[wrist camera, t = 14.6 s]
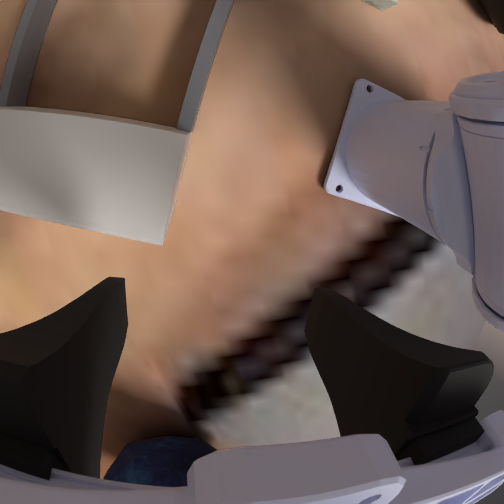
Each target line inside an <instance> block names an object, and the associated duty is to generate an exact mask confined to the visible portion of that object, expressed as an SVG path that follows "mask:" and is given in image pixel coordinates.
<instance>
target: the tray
mask: <svg viewBox="0 0 504 504" xmlns="http://www.w3.org/2000/svg"><path fill="white" fill-rule="evenodd" d="M362 1H364V2H366V3H368V4H370V5H372V6H374V7H376V8H378V9H380V10H382V11H383V10H385V9H387V8H389V7H392V6H394V5H396V4H397V2H398V0H362Z"/></svg>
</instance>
